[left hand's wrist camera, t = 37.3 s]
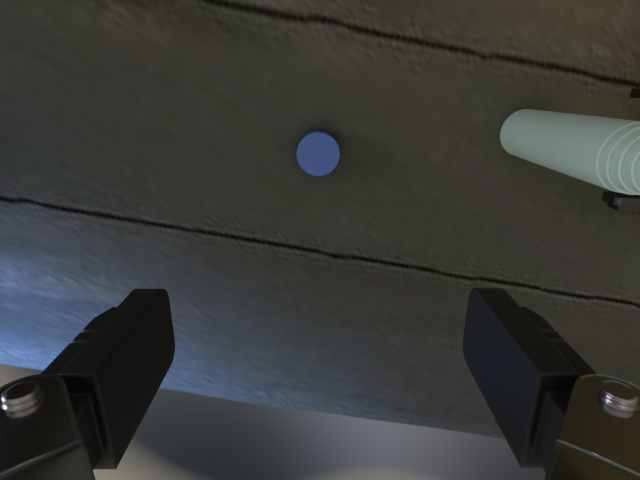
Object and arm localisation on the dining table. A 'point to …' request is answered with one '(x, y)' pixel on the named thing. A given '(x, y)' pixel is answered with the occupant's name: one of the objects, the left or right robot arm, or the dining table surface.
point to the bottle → (578, 146)
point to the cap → (318, 152)
